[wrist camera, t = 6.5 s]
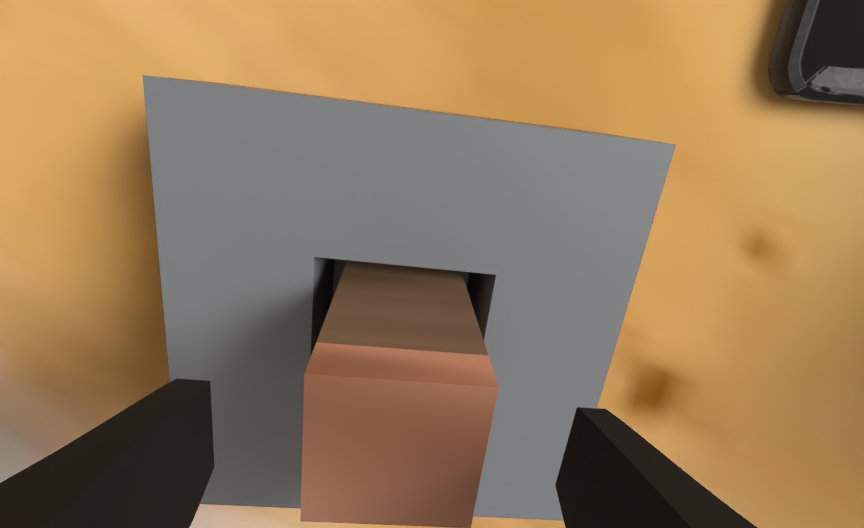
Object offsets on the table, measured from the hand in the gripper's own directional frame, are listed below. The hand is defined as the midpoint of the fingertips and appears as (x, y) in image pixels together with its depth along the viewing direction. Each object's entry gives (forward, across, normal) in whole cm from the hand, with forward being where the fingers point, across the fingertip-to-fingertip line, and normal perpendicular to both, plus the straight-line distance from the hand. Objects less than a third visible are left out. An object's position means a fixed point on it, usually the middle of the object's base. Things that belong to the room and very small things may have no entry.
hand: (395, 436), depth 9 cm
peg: (+7, 0, 0) cm, 7 cm away
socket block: (+7, 0, 0) cm, 7 cm away
